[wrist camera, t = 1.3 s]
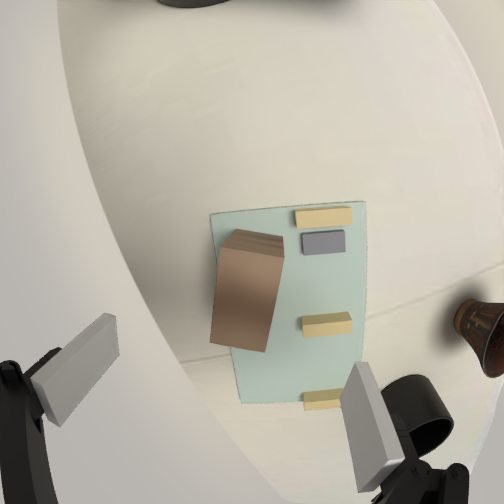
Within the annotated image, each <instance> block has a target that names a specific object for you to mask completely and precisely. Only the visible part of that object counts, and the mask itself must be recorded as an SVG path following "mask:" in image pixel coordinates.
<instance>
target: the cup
mask: <svg viewBox="0 0 504 504" xmlns="http://www.w3.org/2000/svg"><path fill="white" fill-rule="evenodd" d="M454 325H455V329H456V331H457V333H458V334H460V335H462V336H463V337H464V338H465V340H466V341H467V342H468V343H469V344H470V346H471V347H472V349H473V350H474V352H475V353H476V355H477V357H478V359H479V361H480V364H481V367H482V370H483V372H484V373H485V375H486V376H487V377H489V378H496V377H499V376H501V375H502V374H504V303H486V302H480V301H476V300H473V299H471V300H467V301H466V302H464V303H463V304H462V305H461V306H460V308H459V310H458V312H457V314H456V317H455V322H454Z"/></svg>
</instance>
